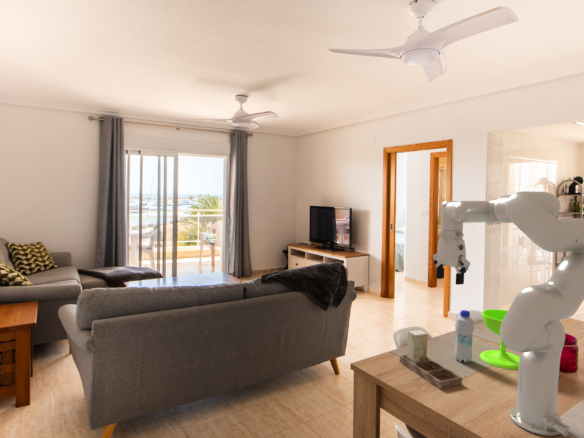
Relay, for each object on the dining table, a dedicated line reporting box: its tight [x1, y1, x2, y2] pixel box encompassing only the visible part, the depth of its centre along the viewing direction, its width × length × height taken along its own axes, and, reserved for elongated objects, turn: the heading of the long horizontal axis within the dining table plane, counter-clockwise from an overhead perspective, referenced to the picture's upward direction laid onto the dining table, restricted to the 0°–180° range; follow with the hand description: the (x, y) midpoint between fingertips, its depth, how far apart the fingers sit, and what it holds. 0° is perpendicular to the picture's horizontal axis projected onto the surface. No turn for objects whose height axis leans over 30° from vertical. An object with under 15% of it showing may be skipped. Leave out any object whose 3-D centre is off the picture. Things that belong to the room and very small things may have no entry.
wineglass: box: [479, 308, 520, 370], centre depth 149 cm, size 16×16×18 cm
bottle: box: [454, 309, 475, 364], centre depth 148 cm, size 7×7×20 cm
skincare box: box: [406, 329, 429, 363], centre depth 144 cm, size 6×4×12 cm
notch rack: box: [399, 354, 463, 390], centre depth 138 cm, size 22×9×2 cm, turn 20°
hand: (449, 281), depth 139 cm, fingers open, 9 cm apart
